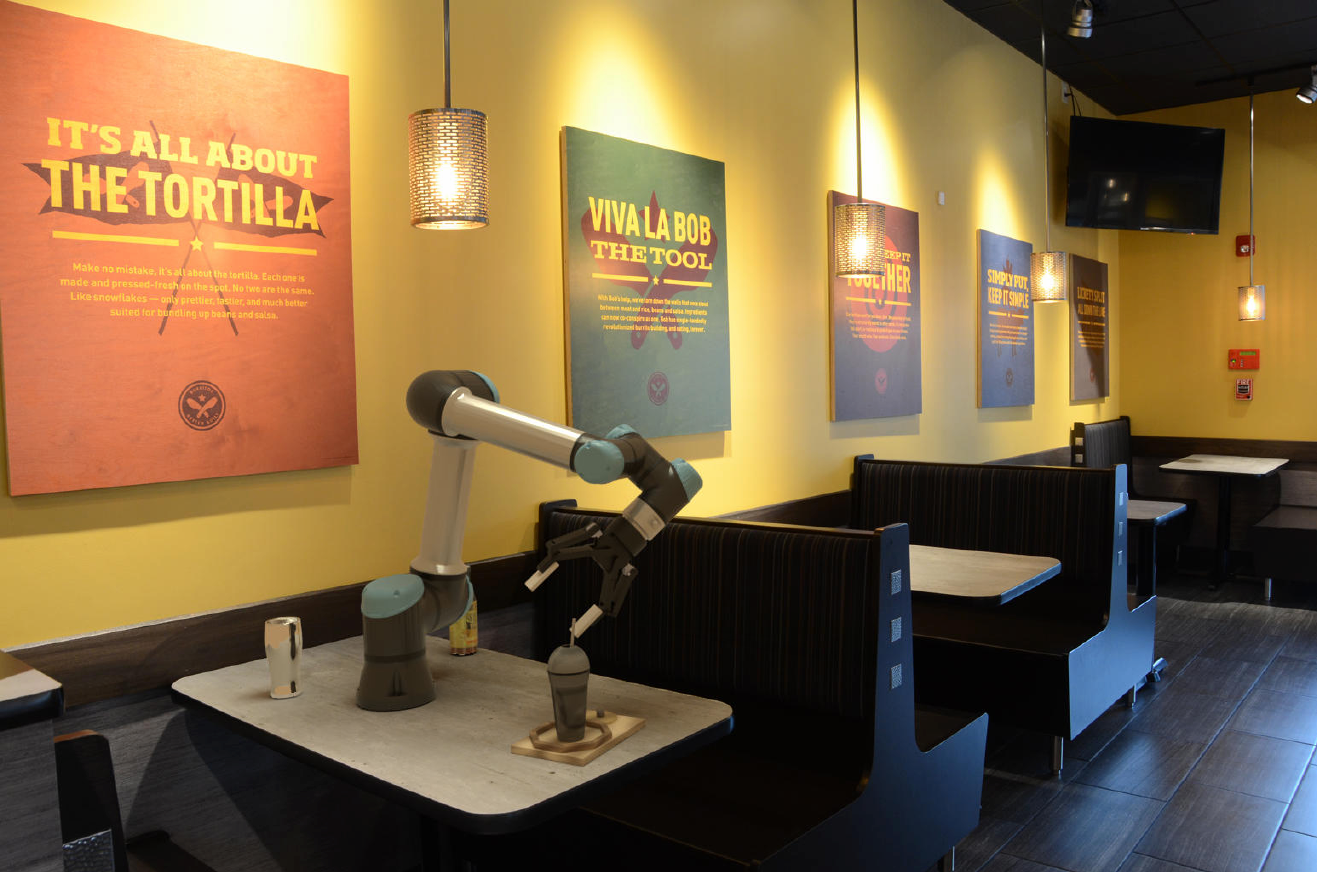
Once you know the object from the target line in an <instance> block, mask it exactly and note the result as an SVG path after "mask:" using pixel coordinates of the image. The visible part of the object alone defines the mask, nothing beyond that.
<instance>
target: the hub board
mask: <svg viewBox="0 0 1317 872" xmlns="http://www.w3.org/2000/svg"><path fill="white" fill-rule="evenodd" d="M644 726H645V727H646V719H645V718H640V717H633V716H627V715H620V714H616V713H615V712H612V711H606V710H605V708H597V709H596V710H590V709H589V710H588V709H586V725H585V733H584V739H582V740H580V741H577V742H561V741H559V740H558V739H557V732H556V727H555V720H548V721H545V722H544V723H542V724H540V725H538V726H537V727H535V728H532V729H531V730H529V731H528V736H527V735H526V737H524V738H522V739H521V740H518V741H516V742H515V743H513V744H511V746H510V749H511V750H510V751H511V754H516V755H522V756H527V757H531V758H538V759H543V760H550V761H554V762H558V763H563V764H569V765H575V766H579V765H581V766H580V767H584V766H586V765H588V764H589V763H590V762H592V761H594V760H596V759H597V758H598V757H600V756H601V755H603V754H605V753H606V752H607V750H608V749H609V750H610V748H611V749H613V748H614V747H615V746H617V745H618V744H620V743H621V742H623V741H625V740H626V739H628V738H629V737H631V736H633V735H634V734H635V733H637V732H639V731H640V730H641V728H642V729H643V728H644ZM636 731H637V732H636ZM633 733H634V734H633ZM627 737H628V738H627ZM625 738H626V739H625ZM624 739H625V740H624ZM619 742H620V743H619ZM616 744H617V745H616ZM613 746H614V747H613ZM609 750H608V751H609ZM599 755H600V756H599Z"/></svg>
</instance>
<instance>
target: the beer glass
mask: <svg viewBox="0 0 1317 872" xmlns="http://www.w3.org/2000/svg"><path fill="white" fill-rule="evenodd" d="M264 623H265V624H264V649H265V650H264V651H265V655H266V660H267V663H268V664H267V665H268V669H269V673H270V679H271V680H270V681H271V682H270V689H269V693H270V692H271V693H272V694H275V695H286V694H291V693H294V692H297V691H300V690H301V689H302V690H303V688H302V683H301V679H300V669H301V668H300V667H301V662H302V653H303V631H302V626H301V624H302V623H301V618H300V617H297V616H284V617H283V616H282V617H275V618H272V619H271V618H270V619H268V620H266V621H265V622H264Z"/></svg>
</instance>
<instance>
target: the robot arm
mask: <svg viewBox="0 0 1317 872" xmlns="http://www.w3.org/2000/svg"><path fill="white" fill-rule="evenodd" d="M413 379H414V380H413V381H411V383H410V385H409V386H408V388H407V391H406V396H405V406H406V409H407V412H408V415H409V416H410V417H411V419H412V420H413V421H414V422H415V423H416V424H417V425H418V426H420V427H422V428H424V429H427V435H428V436H429V437H430V438H431V439H432V441H433V448H432V455H431V462H430V469H429V477H428V486H427V493H426V500H425V501H426V502H425V506H424V514H423V515H424V516H423V521H422V522H423V523H422V530H421V536H420V537H421V538H420V545H419V552H418V553H419V554H418V555H417V556H416V557H414V559H412V560H411V561H410V564H409V570H408V573H398V574H392V575H390V576H383V577H380V578H377V579H374V580H372V581H370V582H369V583H368V584H366V585H365V586H364V588H363V590H362V592H361V605H360V609H361V610H360V612H361V619H362V620H361V621H362V636H363V637H362V639H363V658H364V659H363V667H362V671H361V674H360V680H359V684H358V686H357V688H356V692H355V693H356V694H355V696H356V697H355V698H356V699H355V700H356V705H357V704H358V705H359V706H360V707H359V706H358V705H357V706H358V707H359V708H360V709H361V708H362V709H363V708H365V709H364V710H367V709H368V711H378V712H388V711H391V710H392V711H400V710H407V708H408V709H411V708H416V707H420V706H423V705H425V704H428V703H430V702H432V701H433V700H434V699H435V698H436V697H437V695H438V693H437V689H438V688H437V682H436V679H434V678H433V674H432V670H431V666H430V665H429V661H428V658H427V649H426V647H427V646H426V645H427V644H426V636H427V635H429V634H431V633H433V632H436V631H439V630H440V629H444V628H448V627H449V626H451V625H452V624H454V623H455V622H457V621H458V620H460V619H461V618H462V617H464V616H465V615H466V613H467V612H468V610H469V609H470V607H471V604H472V601H473V592H474V588H473V584H472V582H471V581H470V582H471V583H470V582H469V577H468V576H467V575H466V574H467V566H468V565H467V566H466V564H465V563H464V561H463V560H462V555H463V548H464V547H463V546H464V540H465V531H466V527H467V526H466V525H467V519H468V511H469V505H470V497H471V489H472V483H473V474H474V469H475V468H474V467H475V461H476V454H477V449H478V447H479V446H480V445H481V444H483V443H487V444H488V445H492V446H496V447H498V448H501V449H504V450H507V451H510V452H513V453H516V454H518V455H522V456H525V457H528V458H530V459H533V460H537V461H540V462H543V463H544V464H549V465H551V466H554V467H557V468H560V469H563V470H566V471H569V472H572V473H575V474H577V475H578V476H579V478H580V479H581V480H583V481H584V482H586V483H588V484H589V485H590V484H592V485H607V484H611V483H612V482H615V481H619V480H624V479H628V480H629V481H630V482H631V483H632V484H633V485H634V486H636V487H637V489H638V490H640V491H641V493H639V494H638V496H636V497H635V498H634V499H633V500H632V501H631V503H629V504H628V505H627V506H626V507H625V508H624V509H623V510H622V512H621V514H622V515H617V516H616V517H615V518H614V519H612V521H611V522H610V523H609V524H608V525H607V527H606V528H605V529H604V530H603V531H601V526H600V525H598V524H596V523H595V522H594V521H590V522H588V524H586V525H585V526H584V527H582V528H580V529H576V530H574V531H572V532H569V533H567V534H564V535H561V536H558V537H556V538H554V539H550V540H548V541H546V543H545V547H546V548H547V552H546V553H547V556H546V557H544V559H543V560H541V562H540V563H538V564H537V566H536V570H537V571H536V572H535V573H533V574H532V576H530V578H529V579H527V580H526V581H525V583H524V585H525V586H526V587H528V588H527V589H529V590H530V591H531V592H534V591H535V590H536V589H537V588H538V587H539V586H540V585H541V584H542V583H543V582H544V581H545V580H546V579H548V577H549V576H550V575H551V574H552V573H553V572H554V571H555V570H557V568H558V567H559V566H560V565H559V564H558V561H565V560H566V561H567V560H573V559H574V560H575V559H579V558H585V557H591V558H592V559H593V560H594V561H595V562H597V564H598V566H600V568H601V569H603V579H602V585H601V592H600V595H599V597H600V598H599V601H598V602H599V603H598V606H597V605H596V604H593V605H592V606H591V607H590V608H589V609H588V610H587V611H586V612H585V613H584V614H583V615H582V616H581V617H580V618H579V619H578V620H577V621H576V622H575V633H574V637H575V638H577V639H578V638H579V637H580V636H581V635H583V633H584V632H585V631H586V630H587V629H588V628H589V627H590V626H591V627H594V626H595V625H596V624H597V623H598V622H599V621H601V619H602V618H603V617H604V616H611V617H612V618H617V617H618V614H619V612H620V610H621V608H622V606H623V603H624V600H625V597H626V595H627V593H628V592H629V588H630V586H631V583H632V581H633V580H634V579H635V577H636V576H637V575H638V574H639V571H638V569H637V568H636V567H634V566H633V565H632V564H631V563H630V561H631V559H633V557H636V556H637V555H638V554H639V553H640V552H641V551H642V550H643V549H644V548H645V547H646V546H647V543H648V541H651V540H653V539H654V537H656V535H658V533H660V531H662V530H663V529H664V528H665V527H666V526H667V524H669V523H670V522H671V521H672V519H674V518H675V517H676V516H677V515H678V514H679V513H680V511H682V510H683V509H684V508H685V507H686V506H687V505H688V504H690V503H691V500H693V498H694V497H695V496H696V495H697V494H698V493H699V491H700V490H701V489H702V488H703V485H704V481H703V479H702V477H701V475H700V473H699V472H698V471H697V470H696V469H695V468H694V467H693V466H692V465H691V464H690V463H689V462H687V461H686V460H685V459H684V458H682V457H677V458H675V459H673V460H672V461H669V460H668V459H666V458H665V457H663V455H661V453H660V452H658V451H657V450H656V449H655V448H654V447H653V446H652V444H650V443H649V442H648V441H647V440H646V439H645V438H643V436H642V435H641V434H640V433H639V432H638V431H636V430H635V429H634V428H632V427H631V425H628V424H625V423H624V424H619V425H618V426H617V427H615V428H613V429H612V430H611V431H610V432H608V434H607V435H606V436H605V437H601V436H599V435H595V434H592V433H588V432H586V431H583V430H579V429H577V428H574V427H570V426H568V425H564V424H562V423H558V422H556V421H552V420H549V419H545V418H543V417H540V416H537V415H534V414H531V413H528V412H525V411H522V410H518V409H516V408H512V407H509V406H506V405H504V404H501V399H500V394H499V391H498V388H497V386H496V385H495V383H493V381H492V379H490V378H489V377H488V376H487V375H485V374H483V373H481V372H478V371H473V370H470V369H452V370H451V369H449V370H448V369H445V370H443V369H434V370H428V371H425V372H422V373H421V374H419V375H418V376H417V377H415V378H413ZM591 538H594V542H593V543H587V544H584V545H580V546H573V547H570V546H572V545H576V544H577V543H581V542H583V541H586V540H588V539H591ZM647 540H648V541H647ZM619 570H621V572H622V573H620V576H619ZM618 576H619V578H618ZM617 579H618V580H617ZM616 580H617V583H616ZM569 631H570V632H572V626H571V627H570V628H569ZM427 702H428V703H427ZM422 704H423V705H422Z"/></svg>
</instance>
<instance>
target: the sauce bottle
mask: <svg viewBox="0 0 1317 872" xmlns="http://www.w3.org/2000/svg"><path fill="white" fill-rule="evenodd" d="M465 565H466V564H465ZM466 566H467V574H466V575H467V576H468V577H469V582H470V583H472V581H471V573H472V567H471V565H466ZM476 598H477V597H476V596H475V593H474V591H473V601H472V604H471V607H470V609H469V610H468V612H467V613H466V615H465V616H464V617H462V618H461V619H460V620H458V621H457V622H455V623H454V624H452V625H451V626H448V627H449V630H448V631H449V647H450V653H451V652H452V653H456V654H469V655H471V654H470V653H473V654H475V653H476V652H477V651H478V642H479V641H478V640H479V639H478V610H477V609H478V607H477V606H478V605H477V601H478V600H477V599H476ZM475 651H476V652H475ZM474 652H475V653H474ZM452 653H451V654H452Z"/></svg>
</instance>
